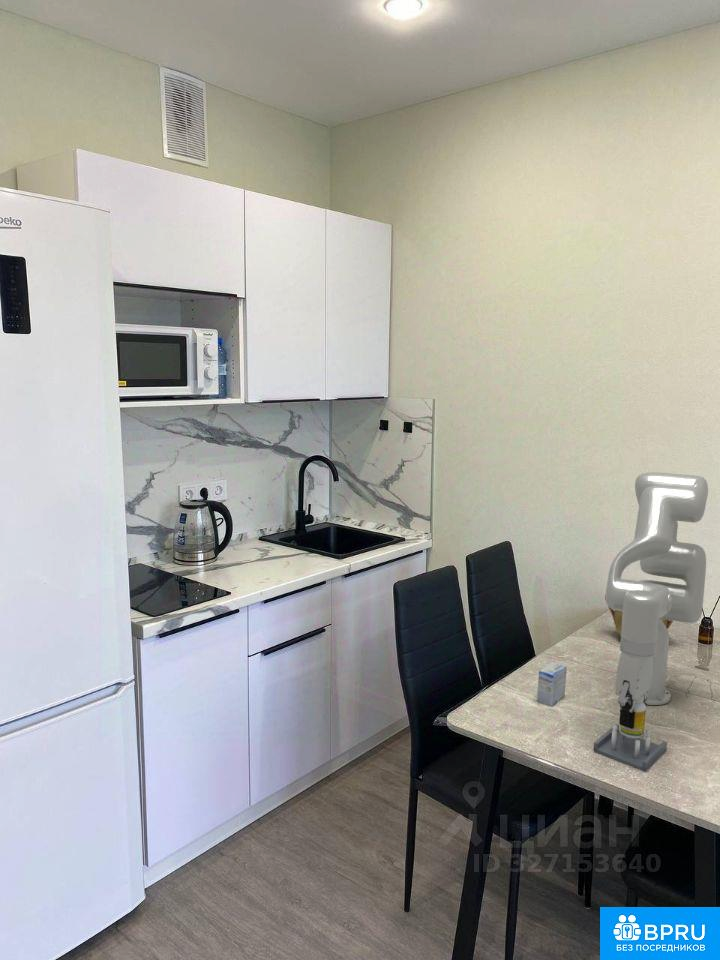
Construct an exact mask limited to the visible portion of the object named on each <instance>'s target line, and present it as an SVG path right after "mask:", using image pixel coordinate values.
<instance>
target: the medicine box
mask: <svg viewBox="0 0 720 960" xmlns="http://www.w3.org/2000/svg"><path fill="white" fill-rule="evenodd" d="M567 669H568V668H567V666H566V665H564V664H560V663H556V662H553V661H552V662H550V663H548V664H547V665H546V666H544V667H543V668H541V670H538V679H537V696H536V697H537V702H538V703H540V704H544V705H547V706H549V707H553V706H554V705H556V704H557V702H558V701H560V700H561V699H563V697H565V692H566V681H567Z"/></svg>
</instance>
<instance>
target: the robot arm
mask: <svg viewBox="0 0 720 960" xmlns="http://www.w3.org/2000/svg"><path fill="white" fill-rule="evenodd" d="M634 490H635V491H634V492H635V496H636V501H637V503H638V510H637V511H638V512H637V517H636V525H635V531H634V536H633V537H634V539H633V540H632V541H631V542H630V543H628V544H627V545H626V546H624V547H623V548H622V549H621V550H620V551H619V552H618V553H617V554H616V556H615V557H614V559H613V560H612V561H611V564H610V567H609V572H608V577H607V583H606V588H605V595H606V600H605V602H607V603H606V604H607V607H608V606H609V607H610V608H611V609H613V610H614V611H615V610H616V611H622V612H623V615H622V628H621V635H620V642H619V643H620V645H619V651H620V656H619V658H618V665H617V671H616V678H615V685H614V694H615V695H616V696H619V697H618V699H617V702H618V704H619V719H618V720H619V722H618V725H619V724H620V725H622V726H625V727H628V728H630V729H633V728H634V722H635V712H634V706H635V701H636V699H638V698H640V697H641V696H642V695H644V701H643V703H644V704H645V705H646V706H647V705H650V706H661V705H666V704H668V703H669V702H670V701H671V697H672V694H671V692H670V691H669V690H668V689H667V688H666V684H667V683H666V680H667V678H668V674H667V669H668V658H669V657H668V656H669V645H670V633H669V630H668V629H667V628H666V626H665V625H664V623H663V622H662V620H661V619H666V620H669V621H670V620H673V622H678V623H679V622H680V623H687V624H695V623H697V622H698V621H700V619H701V617H702V613H703V607H704V598H705V597H704V596H705V584H706V574H707V573H706V572H707V555H706V552H705V550H704V548H703V547H702V546H700V545H698V544H696V543H691V542H690V543H688V542H682V541H681V542H680V541H678V540H677V537H678V530H679V529H678V527H679V524H678V523H679V522H684V523H685V522H686V523H699V522H700V521H701V520H702V519H703V517H704V515H705V510H706V506H707V501H708V495H709V486H708V481H707V480H706V478H705V477H703V476H700V475H693V474H692V475H691V474H681V473H680V474H678V473H671V472H670V473H669V472H667V473H666V472H646V473H645V472H644V473H641V474H639V475H638V476H637V477H636V478H635V482H634ZM636 562H639V566H640V569H641V571H642V572H643V573H645V574H648V575H652V576H657V577H662V578H670V579H678V580H682V581H684V583H685V584H682V583H681V584H678V583H671V582H667V581H666V582H665V581H658V580H652V579H650V580H649V579H642V580H638V581H637V580H630V579H624V578H622V575H623V572H624V570H625V569H627V568H628V566H630V565H632V564H634V563H636ZM609 607H608V608H609ZM628 694H631V695H632V697H629V696H628ZM626 699H628V700H631V705H630V704H629V703H628V702H627V700H626Z"/></svg>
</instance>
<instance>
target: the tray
mask: <svg viewBox="0 0 720 960" xmlns="http://www.w3.org/2000/svg"><path fill="white" fill-rule="evenodd" d="M651 734H652V731H651V730H645V738H644V739H643V738H642V737H641V738H629V737H626V736H624V735H622V734H621V733H620V731H619V723H616V724H612V727H611V728H610V729H608V731H605V733H604V734H603V735H601V736H600V737H598V739H596V740H595V741H594V742H593V750H592V751H593V753H597V754H599V755H602V756H604V757H607V758H609V759H611V760H613V761H617V762H620V763H622V764H624V765H627V766H629V767H632V768H634V769H637V770H639V771H642V772H645V773H646V772H647V771H648V770H649V769H650V768H651V767H652V766H653V765H654V764H655V763H656V762H657V761H658V760H659V759H660V758H661V757H662V756H663V755H664V754H665V753H666V752H667V751H668V750H667V749H668V742H667V741H664V740H663V741H662V742H661V743H660V744H657V743H655V742H651Z"/></svg>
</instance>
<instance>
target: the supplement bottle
mask: <svg viewBox="0 0 720 960" xmlns="http://www.w3.org/2000/svg"><path fill="white" fill-rule="evenodd" d="M628 696H629V697H632V695H631V694H628ZM626 700H627V702H628V703H629V704H630V705H631V700H628V699H626ZM643 701H644V695H642V696H641V697H640V698H638V699H636V701H635V706H634V712H635V722H634V728H633V729H630V728H628V727H625V726H622V725H620V724H619V723H618V725H619V731H620V733H621V734H622V735H624V736H626V737H629V738H641V739H642V737H643V736H644V734H645V725H646V724H645V723H646V713H647V704H646V705H645V704H644V703H643Z"/></svg>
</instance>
